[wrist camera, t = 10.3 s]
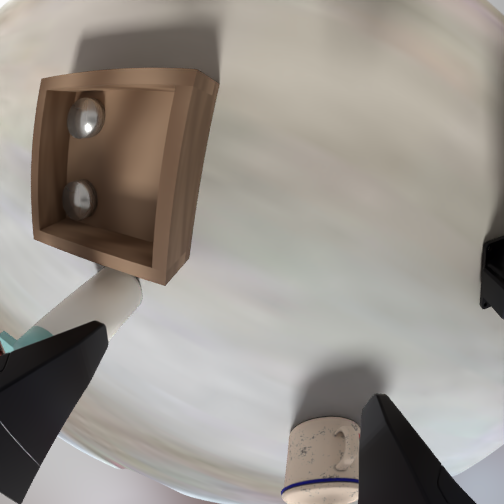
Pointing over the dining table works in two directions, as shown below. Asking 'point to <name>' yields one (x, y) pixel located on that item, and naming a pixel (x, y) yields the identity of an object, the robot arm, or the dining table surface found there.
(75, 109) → the silver metal disc
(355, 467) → the teacup with lid
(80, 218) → the grey metal puck
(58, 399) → the robot arm
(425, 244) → the dining table surface
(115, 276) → the canister
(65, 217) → the brown wooden tray
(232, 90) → the dining table surface
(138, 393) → the dining table surface
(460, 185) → the dining table surface
